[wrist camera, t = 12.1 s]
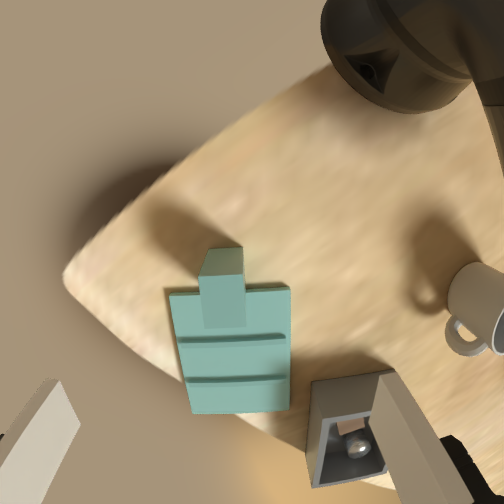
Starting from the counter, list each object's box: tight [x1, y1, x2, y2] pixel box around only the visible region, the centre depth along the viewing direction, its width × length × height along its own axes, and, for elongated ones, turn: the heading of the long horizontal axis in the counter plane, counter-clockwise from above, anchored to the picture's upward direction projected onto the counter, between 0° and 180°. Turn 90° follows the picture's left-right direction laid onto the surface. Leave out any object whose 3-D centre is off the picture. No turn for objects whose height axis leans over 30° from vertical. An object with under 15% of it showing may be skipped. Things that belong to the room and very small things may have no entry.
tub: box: [305, 369, 396, 488], centre depth 31 cm, size 14×10×6 cm
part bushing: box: [342, 428, 371, 458], centre depth 32 cm, size 3×3×3 cm
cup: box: [445, 262, 504, 357], centre depth 26 cm, size 7×10×9 cm
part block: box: [335, 417, 365, 435], centre depth 31 cm, size 3×3×3 cm
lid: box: [169, 247, 291, 414], centre depth 27 cm, size 19×11×7 cm, turn 3°
